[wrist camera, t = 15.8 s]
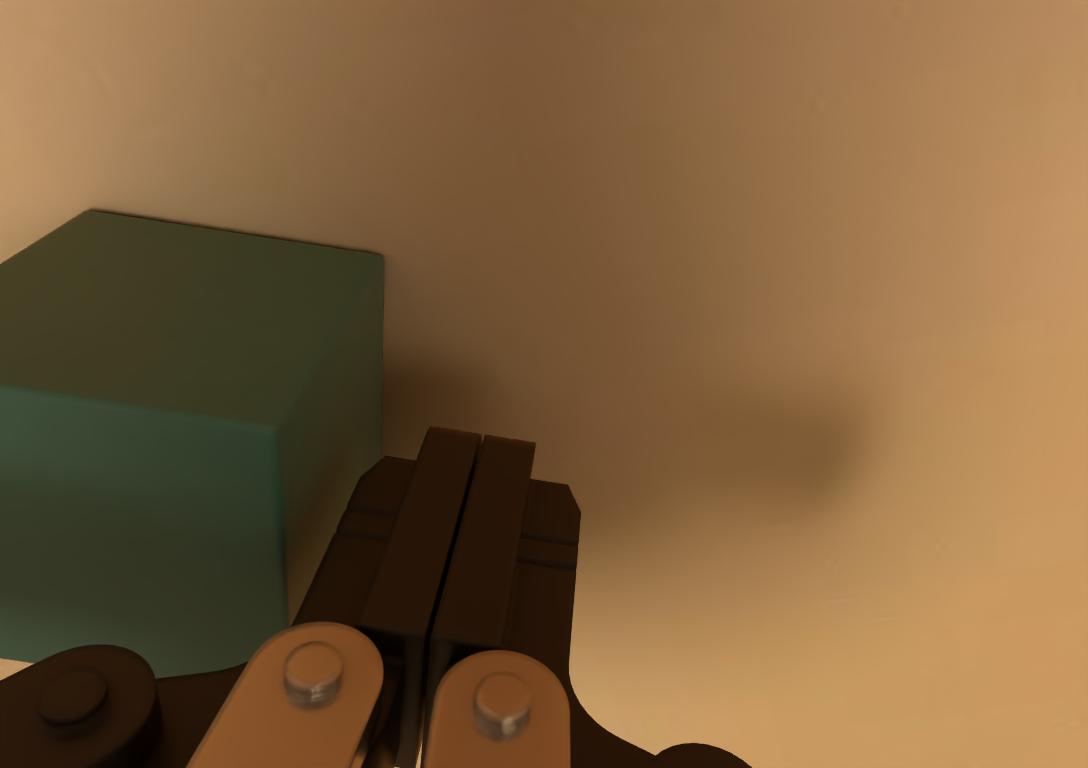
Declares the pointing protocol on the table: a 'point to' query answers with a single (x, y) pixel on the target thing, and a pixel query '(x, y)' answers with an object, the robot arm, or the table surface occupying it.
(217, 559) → the teal block
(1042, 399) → the table surface
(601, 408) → the table surface
